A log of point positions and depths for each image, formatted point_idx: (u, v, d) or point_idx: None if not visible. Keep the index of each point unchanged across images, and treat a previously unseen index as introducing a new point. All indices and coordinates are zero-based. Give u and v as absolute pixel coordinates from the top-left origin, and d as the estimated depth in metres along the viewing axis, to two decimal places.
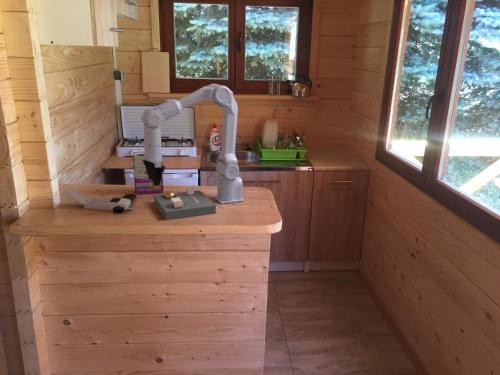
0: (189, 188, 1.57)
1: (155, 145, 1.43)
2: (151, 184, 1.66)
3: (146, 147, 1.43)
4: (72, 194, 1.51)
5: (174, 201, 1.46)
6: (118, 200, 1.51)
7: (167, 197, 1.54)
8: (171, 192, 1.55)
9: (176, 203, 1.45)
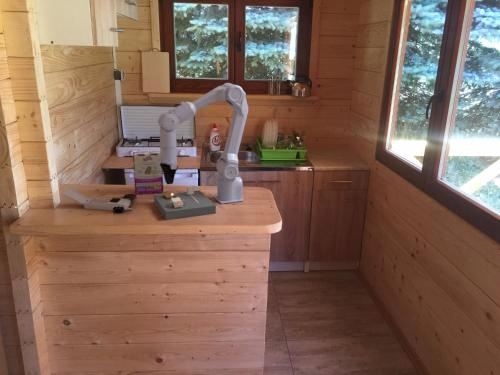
0: (189, 188, 1.57)
1: (171, 148, 1.48)
2: (151, 184, 1.66)
3: (162, 149, 1.48)
4: (72, 194, 1.51)
5: (174, 201, 1.46)
6: (118, 200, 1.51)
7: (167, 197, 1.54)
8: (171, 192, 1.55)
9: (176, 203, 1.45)
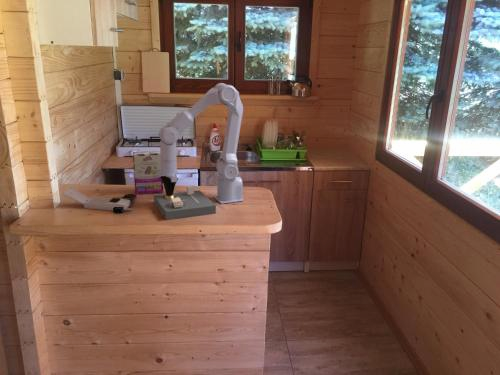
0: (189, 188, 1.57)
1: (171, 160, 1.49)
2: (151, 184, 1.66)
3: (162, 162, 1.49)
4: (72, 193, 1.51)
5: (174, 201, 1.46)
6: (117, 200, 1.51)
7: None
8: None
9: (176, 203, 1.45)
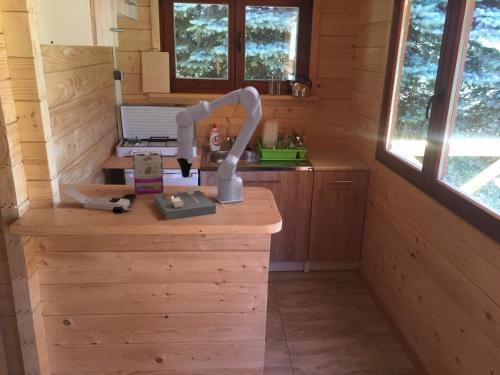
0: (189, 188, 1.57)
1: (188, 143, 1.56)
2: (151, 184, 1.66)
3: (179, 145, 1.56)
4: (72, 193, 1.52)
5: (174, 201, 1.46)
6: (117, 200, 1.51)
7: None
8: (171, 195, 1.56)
9: (176, 203, 1.45)
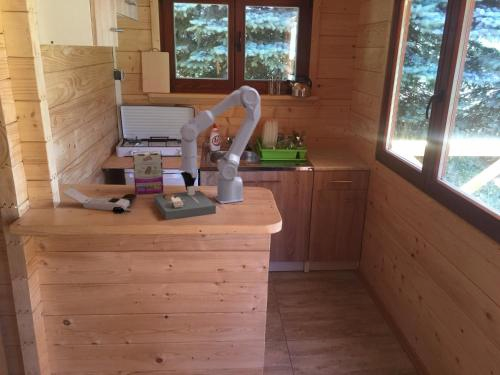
0: (190, 189, 1.57)
1: (192, 157, 1.53)
2: (151, 184, 1.66)
3: (183, 159, 1.54)
4: (72, 193, 1.52)
5: (174, 201, 1.46)
6: (117, 200, 1.51)
7: None
8: (171, 195, 1.56)
9: (176, 203, 1.45)
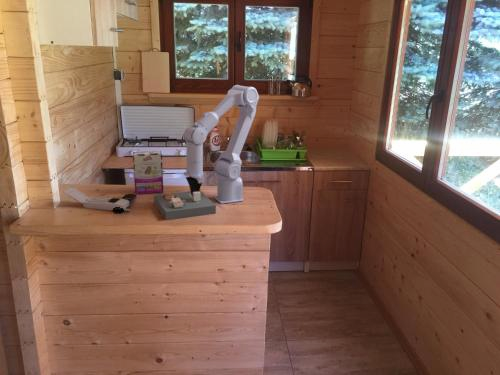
0: (195, 194, 1.51)
1: (198, 161, 1.47)
2: (151, 184, 1.66)
3: (189, 163, 1.48)
4: (73, 193, 1.52)
5: (174, 201, 1.46)
6: (116, 200, 1.51)
7: None
8: (171, 195, 1.56)
9: (176, 203, 1.45)
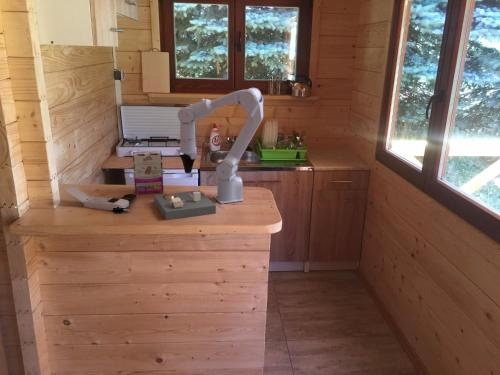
0: (195, 194, 1.51)
1: (190, 139, 1.58)
2: (151, 184, 1.66)
3: (182, 141, 1.58)
4: (74, 192, 1.53)
5: (174, 201, 1.46)
6: (116, 200, 1.51)
7: None
8: (171, 195, 1.56)
9: (176, 203, 1.45)
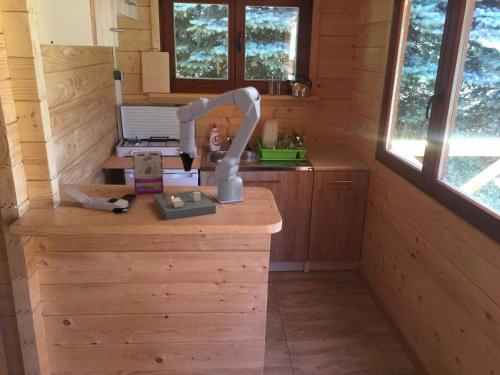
0: (195, 194, 1.51)
1: (190, 138, 1.60)
2: (151, 184, 1.66)
3: (181, 139, 1.60)
4: (73, 192, 1.53)
5: (174, 201, 1.46)
6: (115, 201, 1.50)
7: None
8: (171, 195, 1.56)
9: (176, 203, 1.45)
